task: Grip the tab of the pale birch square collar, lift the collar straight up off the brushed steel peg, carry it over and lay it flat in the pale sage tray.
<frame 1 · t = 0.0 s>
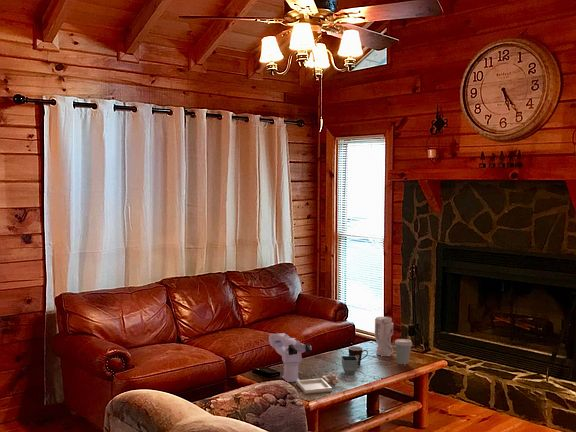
hand: (303, 351, 326), 22 cm above the table, tool horizontal, fingers open, 7 cm apart
disposable coffee cup: (402, 364, 378), on the table
peg: (330, 380, 346), on the table
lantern: (382, 355, 395), on the table
flower pot: (349, 373, 358), on the table
tray: (313, 387, 334), on the table
coffee mug: (357, 364, 374), on the table
collar: (330, 380, 346), on the table
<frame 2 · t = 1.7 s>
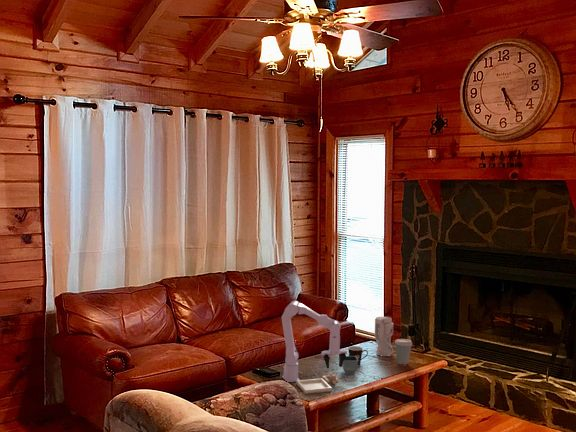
hand: (334, 367, 341), 9 cm above the table, tool pointing down, fingers open, 7 cm apart
nothing on the table moved.
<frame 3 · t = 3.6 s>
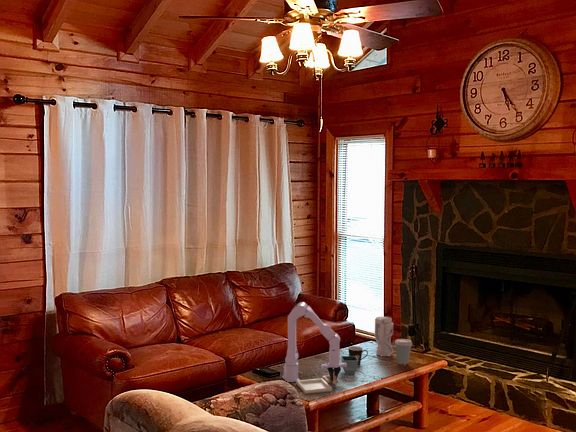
hand: (333, 380, 341), 2 cm above the table, tool pointing down, fingers closed on collar
collar: (330, 380, 346), on the table, touching gripper
everything else where it was.
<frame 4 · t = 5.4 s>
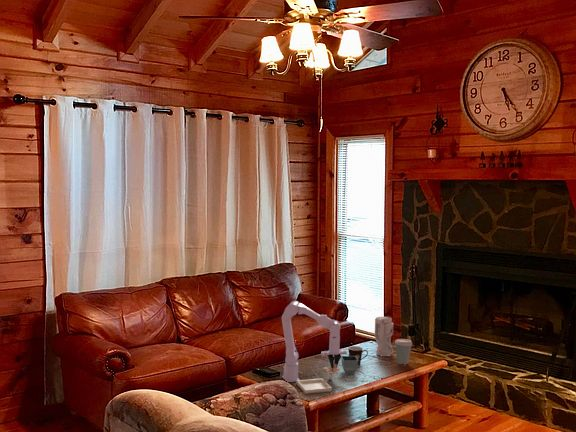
hand: (333, 367, 341), 9 cm above the table, tool pointing down, fingers closed on collar
collar: (331, 370, 345), point 6 cm above the table, tilted 10°, touching gripper
everything else where it was.
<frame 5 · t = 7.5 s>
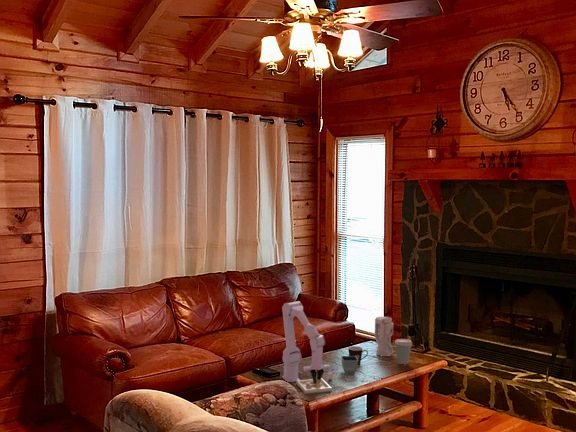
hand: (316, 382, 330), 4 cm above the table, tool pointing down, fingers closed on collar
collar: (314, 385, 333), point 1 cm above the table, tilted 8°, touching gripper, tray
everything else where it was.
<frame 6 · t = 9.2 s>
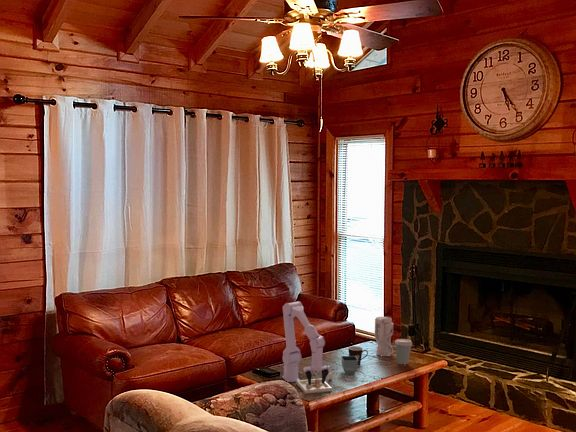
hand: (316, 383, 330), 3 cm above the table, tool pointing down, fingers open, 7 cm apart
collar: (314, 385, 333), point 1 cm above the table, tilted 8°, touching tray
everything else where it was.
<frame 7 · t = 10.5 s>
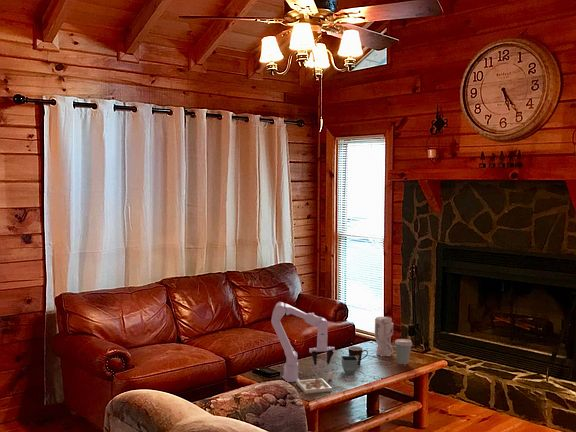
hand: (321, 364, 344), 9 cm above the table, tool pointing down, fingers open, 7 cm apart
nothing on the table moved.
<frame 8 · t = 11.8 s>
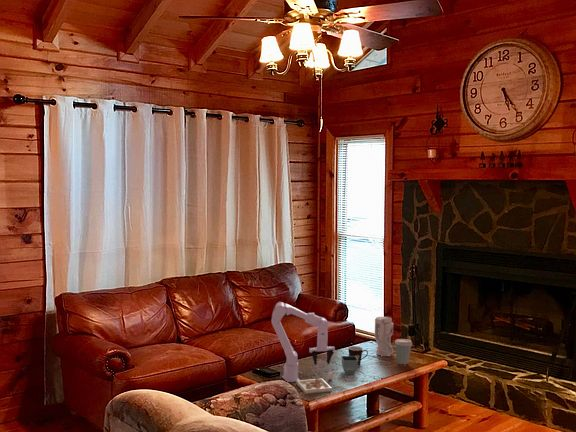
hand: (321, 363, 345), 9 cm above the table, tool pointing down, fingers open, 7 cm apart
nothing on the table moved.
at the end: collar inside the target area on the tray (1.6 cm from its centre), point 1.1 cm above the tray's base; collar tilted 8°; the gripper is holding nothing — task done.
